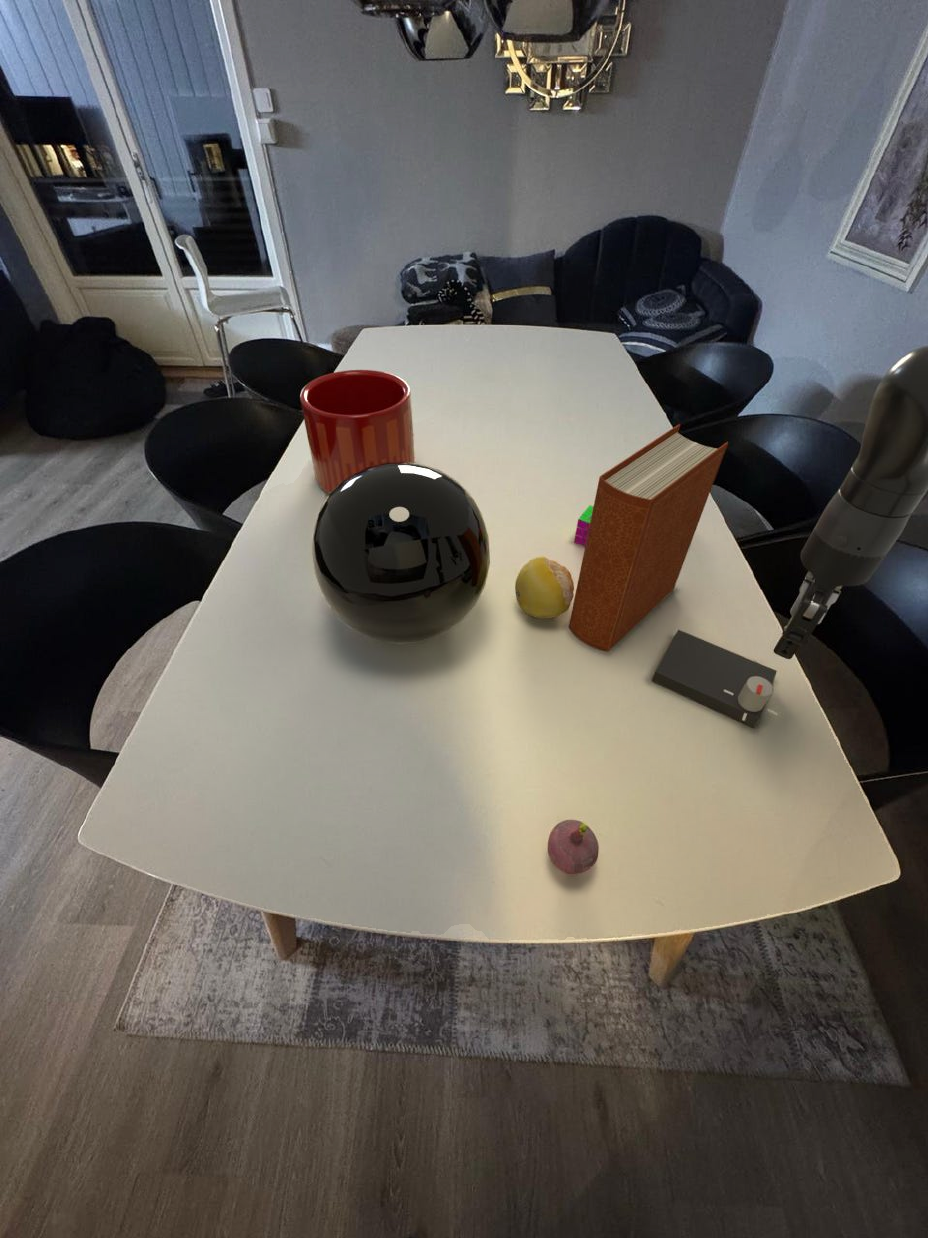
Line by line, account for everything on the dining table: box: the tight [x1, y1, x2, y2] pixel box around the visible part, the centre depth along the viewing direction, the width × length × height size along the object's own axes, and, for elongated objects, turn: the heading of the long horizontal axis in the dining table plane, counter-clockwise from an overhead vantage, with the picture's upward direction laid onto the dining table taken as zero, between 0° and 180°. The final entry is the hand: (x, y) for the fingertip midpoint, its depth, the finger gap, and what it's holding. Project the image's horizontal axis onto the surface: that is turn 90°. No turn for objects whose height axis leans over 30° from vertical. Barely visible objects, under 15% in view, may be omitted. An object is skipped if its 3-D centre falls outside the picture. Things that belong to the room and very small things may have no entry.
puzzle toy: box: [573, 504, 594, 547], centre depth 115 cm, size 6×6×6 cm
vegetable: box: [547, 819, 600, 876], centre depth 67 cm, size 6×6×10 cm
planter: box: [299, 369, 416, 494], centre depth 126 cm, size 23×23×20 cm
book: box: [568, 423, 729, 653], centre depth 92 cm, size 23×8×30 cm, turn 136°
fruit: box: [514, 556, 575, 619], centre depth 99 cm, size 10×11×10 cm
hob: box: [651, 629, 778, 729], centre depth 89 cm, size 18×13×3 cm
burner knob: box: [738, 676, 774, 712], centre depth 84 cm, size 4×4×4 cm
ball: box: [311, 462, 491, 644], centre depth 91 cm, size 28×28×28 cm
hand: (790, 635), depth 74 cm, fingers open, 8 cm apart
